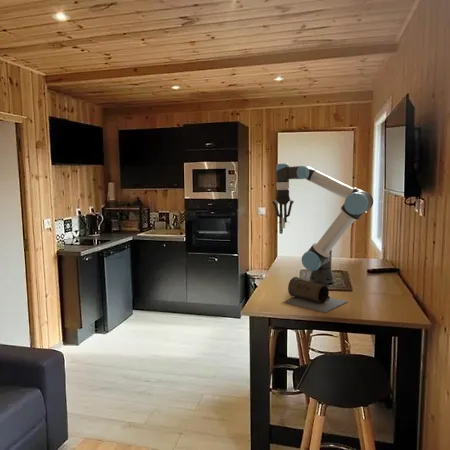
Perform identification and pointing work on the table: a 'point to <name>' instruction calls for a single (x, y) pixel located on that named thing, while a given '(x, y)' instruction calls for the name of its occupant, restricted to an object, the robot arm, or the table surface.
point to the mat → (317, 304)
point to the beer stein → (308, 290)
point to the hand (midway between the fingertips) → (283, 228)
